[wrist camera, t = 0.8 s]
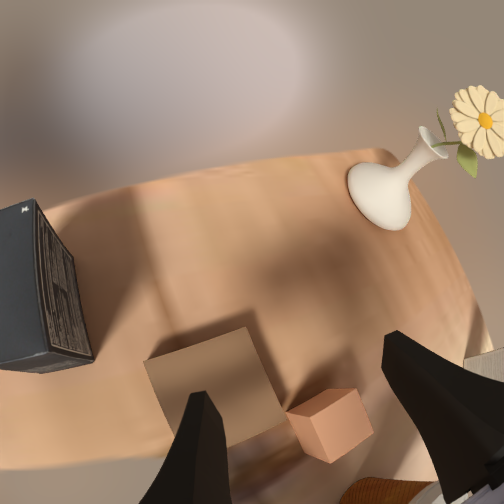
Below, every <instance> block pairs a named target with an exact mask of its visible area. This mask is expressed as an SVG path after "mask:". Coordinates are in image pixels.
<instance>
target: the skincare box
mask: <svg viewBox="0 0 504 504" xmlns="http://www.w3.org/2000/svg"><path fill="white" fill-rule="evenodd" d="M463 368H464V369H466V370H469V371H471V372H474V373H476V374H479V375H481V376H484V377H487V378H490V379H494V380H497V381H501V382H504V347H503V348H500V349H497V350H493V351H490V352H487V353H483V354H480V355H476V356H473V357H469V358H465V359H464V367H463Z"/></svg>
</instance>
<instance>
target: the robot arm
mask: <svg viewBox="0 0 504 504" xmlns="http://www.w3.org/2000/svg"><path fill="white" fill-rule="evenodd" d="M381 368H382V371H383V373H384V375H385V377H386V379H387V381H388V383H389V385H390V387H391V389H392V390H393V392H394V393H395V395H396V396H397V398H398V399H399V401H400V402H401V404H402V405H403V407H404V408H405V410H406V411H407V413H408V414H409V416H410V417H411V419H412V420H413V422H414V423H415V425H416V427H417V429H418V430H419V432H420V434H421V436H422V439H423V441H424V443H425V445H426V447H427V450H428V452H429V455H430V457H431V459H432V462H433V465H434V467H435V470H436V473H437V476H438V479H439V483H440V486H441V490H442V494H443V498H444V501H445V503H446V504H451V503H452V502H454V501H456V500H457V499H459V498H460V497H462V496H463V495H465V494H466V493H468V492H469V491H470V490H471V492H472V494H473V495H472V496H471V497H469V498H468V499H467V500H465V501H464V502H462V503H461V504H504V382H501V381H497V380H494V379H490V378H487V377H484V376H481V375H479V374H476V373H474V372H471V371H469V370H466V369H464V368H462V367H460V366H458V365H456V364H454V363H452V362H450V361H448V360H446V359H444V358H442V357H441V356H439V355H437V354H435V353H434V352H432V351H430V350H429V349H427V348H425V347H424V346H422V345H420V344H419V343H417V342H416V341H414V340H412V339H411V338H409V337H408V336H406V335H404V334H403V333H401V332H400V331H398V330H396V331H394V332H392V333H389V334H387V335H385V336H384V347H383V357H382V366H381ZM139 504H232V501H231V496H230V489H229V478H228V462H227V445H226V436H225V430H224V424H223V419H222V416H221V415H220V413H219V411H218V410H217V408H216V407H215V405H214V403H213V402H212V400H211V398H210V397H209V395H208V393H207V392H206V390H205V391H199V392H194V393H191V394H190V395H189V398H188V401H187V404H186V407H185V411H184V414H183V417H182V419H181V422H180V425H179V428H178V430H177V433H176V436H175V438H174V441H173V443H172V446H171V448H170V450H169V452H168V454H167V457H166V459H165V461H164V463H163V465H162V467H161V469H160V471H159V473H158V475H157V476H156V478H155V480H154V481H153V483H152V485H151V486H150V488H149V489H148V491H147V493H146V494H145V495H144V497H143V498H142V500H141V501H140V502H139Z"/></svg>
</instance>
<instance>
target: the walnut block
mask: <svg viewBox="0 0 504 504" xmlns="http://www.w3.org/2000/svg"><path fill="white" fill-rule="evenodd" d="M143 363H144V366H145V369H146V371H147V374H148V376H149V379H150V382H151V384H152V387H153V389H154V392H155V394H156V396H157V399H158V401H159V403H160V406H161V408H162V410H163V413H164V415H165V417H166V419H167V421H168V424H169V426H170V428H171V430H172V432H173V434H174V436H176V433H177V430H178V428H179V425H180V422H181V419H182V417H183V414H184V411H185V407H186V404H187V401H188V398H189V395H190V394H191V393H194V392H199V391H205V390H206V392H207V393H208V395H209V397H210V398H211V400H212V402H213V403H214V405H215V407H216V408H217V410H218V411H219V413H220V415H221V416H222V419H223V424H224V430H225V436H226V445H227V448H228V447H231V446H233V445H236V444H238V443H240V442H243V441H245V440H247V439H249V438H252V437H254V436H256V435H258V434H260V433H262V432H264V431H267V430H269V429H271V428H273V427H275V426H277V425H279V424H281V423H283V422H285V421H286V420H287V418H286V416H285V414H284V412H283V410H282V407H281V405H280V403H279V401H278V399H277V396H276V394H275V392H274V390H273V387H272V385H271V383H270V381H269V378H268V376H267V374H266V372H265V369H264V367H263V365H262V363H261V360H260V358H259V356H258V353H257V351H256V349H255V346H254V344H253V342H252V339H251V337H250V335H249V332H248V330H247V328H246V326H245V327H242V328H240V329H237V330H234V331H232V332H229V333H226V334H223V335H221V336H218V337H215V338H212V339H210V340H207V341H204V342H201V343H198V344H195V345H192V346H189V347H186V348H183V349H180V350H177V351H174V352H171V353H168V354H165V355H162V356H159V357H155V358H152V359H149V360H146V361H143Z"/></svg>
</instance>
